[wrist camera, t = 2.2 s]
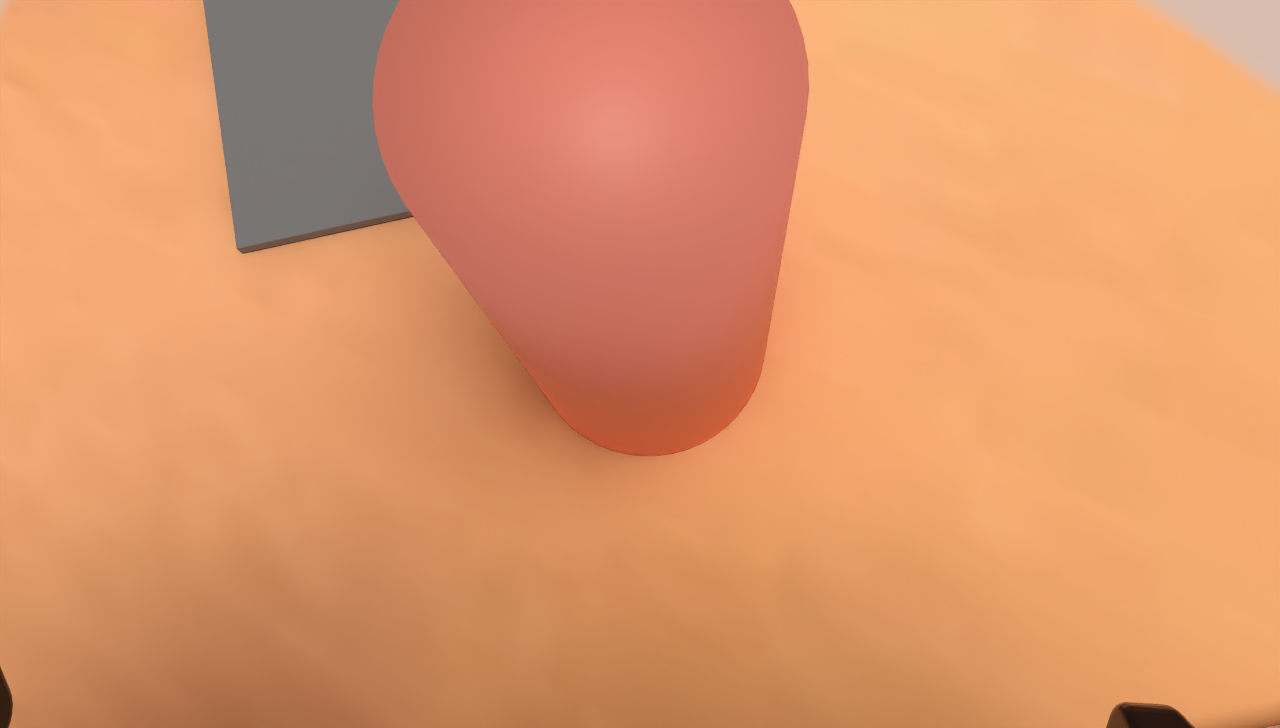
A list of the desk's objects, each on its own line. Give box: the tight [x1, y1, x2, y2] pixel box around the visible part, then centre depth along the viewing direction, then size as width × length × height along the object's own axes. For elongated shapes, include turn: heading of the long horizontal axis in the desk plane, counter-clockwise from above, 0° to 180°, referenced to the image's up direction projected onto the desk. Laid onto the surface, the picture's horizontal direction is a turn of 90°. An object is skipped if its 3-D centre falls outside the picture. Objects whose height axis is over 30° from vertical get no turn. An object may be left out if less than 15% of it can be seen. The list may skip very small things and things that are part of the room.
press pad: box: [203, 0, 413, 253], centre depth 24 cm, size 7×7×1 cm
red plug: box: [372, 0, 809, 456], centre depth 17 cm, size 4×4×11 cm
